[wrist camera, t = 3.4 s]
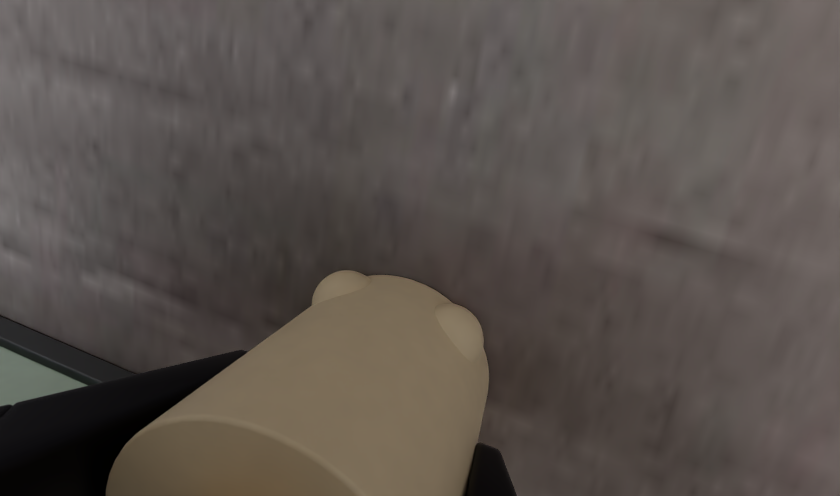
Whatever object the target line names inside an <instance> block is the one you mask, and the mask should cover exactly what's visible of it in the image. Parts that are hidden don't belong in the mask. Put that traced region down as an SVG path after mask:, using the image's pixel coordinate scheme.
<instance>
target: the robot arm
mask: <svg viewBox="0 0 840 496" xmlns="http://www.w3.org/2000/svg"><path fill="white" fill-rule="evenodd" d="M246 353H247V351H244V350H238V351H234V352H229V353H225V354H221V355H217V356H212V357H208V358H204V359H200V360H195V361H191V362H187V363H183V364H178V365H174V366H170V367H166V368H161V369H157V370H153V371H148V372H144V373H140V374H136V375H131V376H127V377H123V378H119V379H114V380H110V381H106V382H102V383H97V384H93V385H89V386H85V387H80V388H76V389H72V390H67V391H63V392H59V393H55V394H50V395H46V396H42V397H38V398H33V399H29V400H25V401H21V402H17V403H15V404H14V405H13V406H12V405H11V404H7V405H3V406H0V496H105V495H106V486H107V482H108V477H109V473H110V471H111V469H112V466H113V464H114V461H115V459H116V458H117V456H118V455H119V453H120V452H121V450H122V449H123V447H124V446H125V444H126V443H127V442H128V441H129V440H130V439H131V438H132V437H133V436H134V435H135V434H136V433H138V432H139V431H140V430H142V429H143V428H144V427H146V426H147V425H149V424H150V423H151V422H153V421H154V420H155V419H157V418H158V417H160V416H161V415H162V414H164V413H165V412H166V411H168V410H169V409H171V408H172V407H173V406H175V405H176V404H177V403H179V402H180V401H181V400H183V399H184V398H186V397H187V396H188V395H190V394H191V393H192V392H194V391H195V390H197V389H198V388H199V387H201V386H202V385H203V384H205V383H206V382H208V381H209V380H210V379H212V378H213V377H214V376H216V375H217V374H219V373H220V372H221V371H223V370H224V369H225V368H227V367H228V366H230V365H231V364H232V363H234V362H235V361H236V360H238V359H239V358H241V357H242V356H243V355H245V354H246ZM465 496H517V495H516V492H515V489H514V487H513V484H512V481H511V479H510V476H509V473H508V471H507V468H506V465H505V463H504V460H503V458H502V455H501V453H500V451H499V450H498V449H496V448H493V447H491V446H488V445H485V444H483V443H477V444H476V447H475V452H474V457H473V462H472V466H471V471H470V476H469V480H468V485H467V490H466V495H465Z"/></svg>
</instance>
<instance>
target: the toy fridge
mask: <svg viewBox="0 0 840 496" xmlns="http://www.w3.org/2000/svg"><path fill="white" fill-rule="evenodd" d="M131 375H135V374H133V373H131V372H128V371H126V370H124V369H121V368H119V367H117V366H114V365H112V364H110V363H108V362H105V361H103V360H101V359H98V358H96V357H94V356H91V355H89V354H87V353H84V352H82V351H80V350H77V349H75V348H73V347H70V346H68V345H66V344H63V343H61V342H59V341H56V340H54V339H52V338H49V337H47V336H45V335H42V334H40V333H38V332H35V331H33V330H31V329H28V328H26V327H24V326H22V325H19V324H17V323H15V322H12V321H10V320H8V319H5V318H3V317H1V316H0V406H3V405H7V404H11V405H12V406H13V405H14V404H15V403H17V402H21V401H25V400H29V399H33V398H38V397H42V396H46V395H50V394H55V393H59V392H63V391H67V390H72V389H76V388H80V387H85V386H89V385H93V384H97V383H102V382H106V381H110V380H114V379H119V378H123V377H127V376H131Z"/></svg>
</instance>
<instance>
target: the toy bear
mask: <svg viewBox="0 0 840 496" xmlns="http://www.w3.org/2000/svg"><path fill="white" fill-rule="evenodd" d="M483 343H484V337H483V331H482V328H481V325H480V323H479V321H478V320H477V318H476V317H475V316H474V315H473V314H472V313H471V312H470V311H469V310H467V309H466V308H464V307H462V306H460V305H456V304H453V303H452V302H451V301H450V300H449V299H447V298H446V297H444V296H443V295H442V294H440V293H439V292H437V291H436V290H434V289H432V288H430V287H428V286H426V285H424V284H422V283H419V282H417V281H414V280H411V279H407V278H403V277H399V276H391V275H372V276H365V275H363V274H361V273H359V272H356V271H351V270H343V271H338V272H335V273H332V274H330V275H328V276H327V277H326V278H324V279H323V280H322V281H321V282H320V284H319V285H318V286H317V288H316V290H315V292H314V294H313V298H312V306H311V307H309V308H308V309H306V310H305V311H304V312H302V313H301V314H300V315H298V316H297V317H295V318H294V319H293V320H291V321H290V322H289V323H287V324H286V325H284V326H283V327H282V328H280V329H279V330H278V331H276V332H275V333H273V334H272V335H271V336H269V337H268V338H267V339H265V340H264V341H262V342H261V343H260V344H258V345H257V346H256V347H254V348H253V349H251V350H250V351H249V352H247V353H246V354H245V355H243V356H242V357H241V358H239V359H238V360H236V361H235V362H234V363H232V364H231V365H230V366H228V367H227V368H225V369H224V370H223V371H221V372H220V373H219V374H217V375H216V376H214V377H213V378H212V379H210V380H209V381H208V382H206V383H205V384H203V385H202V386H201V387H199V388H198V389H197V390H195V391H194V392H192V393H191V394H190V395H188V396H187V397H186V398H184V399H183V400H181V401H180V402H179V403H177V404H176V405H175V406H173V407H172V408H171V409H169V410H168V411H166V412H165V413H164V414H162V415H161V416H160V417H158V418H157V419H155V420H154V421H153V422H151V423H150V424H149V425H147V426H146V427H144V428H143V429H142V430H140V431H139V432H138V433H136V434H135V435H134V436H133V437H132V438H131V439H130V440H129V441H128V442H127V443H126V444H125V446H124V447H123V449H122V450H121V452H120V453H119V455H118V456H117V458H116V459H115V461H114V464H113V466H112V469H111V471H110V473H109V477H108V482H107V486H106V495H105V496H465V495H466V490H467V485H468V480H469V476H470V471H471V466H472V462H473V457H474V452H475V447H476V444H477V442H478V438H479V433H480V428H481V423H482V418H483V414H484V409H485V404H486V399H487V394H488V388H489V368H488V362H487V357H486V353H485V351H484V348H483Z"/></svg>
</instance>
